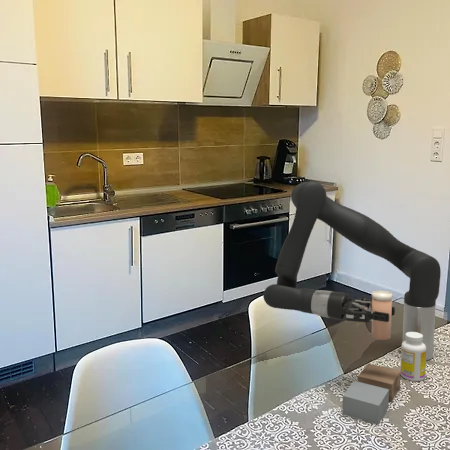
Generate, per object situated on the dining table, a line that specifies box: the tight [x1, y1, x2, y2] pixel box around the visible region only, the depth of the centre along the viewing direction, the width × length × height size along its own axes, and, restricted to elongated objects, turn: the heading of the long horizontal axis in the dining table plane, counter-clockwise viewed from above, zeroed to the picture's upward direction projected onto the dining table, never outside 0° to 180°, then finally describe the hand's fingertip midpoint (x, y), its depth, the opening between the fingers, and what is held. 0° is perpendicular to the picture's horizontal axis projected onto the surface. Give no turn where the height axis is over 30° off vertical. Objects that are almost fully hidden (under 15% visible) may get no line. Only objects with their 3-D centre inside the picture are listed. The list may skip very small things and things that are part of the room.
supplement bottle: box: [400, 332, 427, 382], centre depth 137 cm, size 7×7×13 cm
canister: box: [371, 289, 393, 341], centre depth 127 cm, size 5×5×12 cm
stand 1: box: [357, 363, 402, 403], centre depth 130 cm, size 9×9×5 cm
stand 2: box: [342, 380, 390, 426], centre depth 120 cm, size 9×9×5 cm
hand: (391, 314), depth 125 cm, fingers closed on canister, 5 cm apart
